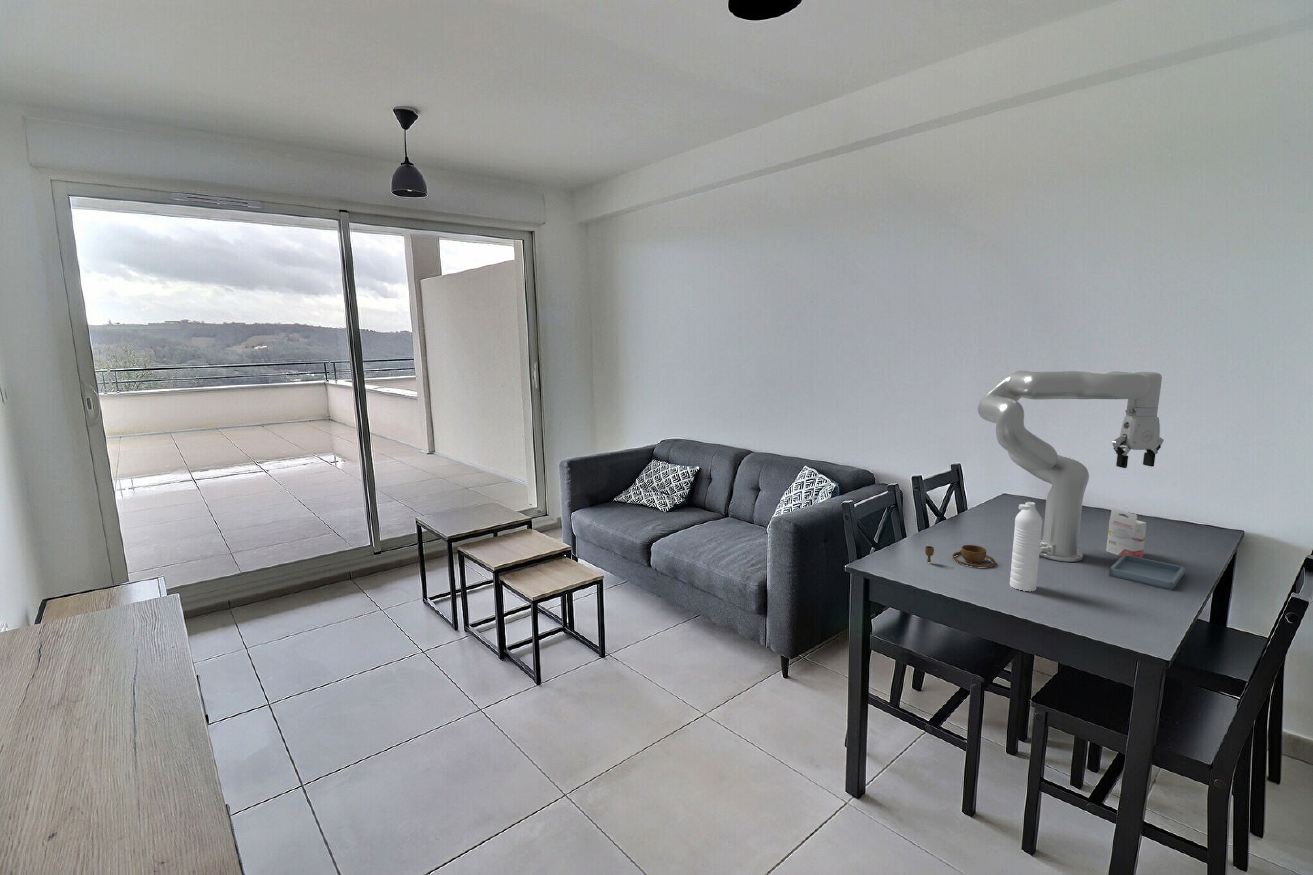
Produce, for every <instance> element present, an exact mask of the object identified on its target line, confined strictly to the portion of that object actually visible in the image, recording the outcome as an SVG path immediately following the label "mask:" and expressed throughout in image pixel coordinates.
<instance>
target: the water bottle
mask: <svg viewBox="0 0 1313 875" xmlns="http://www.w3.org/2000/svg"><path fill="white" fill-rule="evenodd" d="M1018 509H1019V510H1020V511H1019V512H1018V513H1017V514H1016V516H1015V519H1014V531H1013V533H1014V534H1013V544H1012V553H1011V566H1010V569H1011V570H1010V577H1009V586H1010V587H1011V588H1012V587H1013V588H1012V589H1014V588H1015V590H1016V589H1019V590H1018V591H1020V590H1023V591H1022V592H1025V591H1029V592H1031V591H1032V592H1035V591H1036V590H1037V583H1038V581H1037V580H1038V572H1039V561H1040V555H1039V553H1040V542H1041V541H1040V540H1041V539H1042V538H1041V537H1042V530H1043V529H1042V528H1043V518H1042V516H1041V515H1040V513H1039V512H1038V510H1037V509H1036V503H1035V502H1032V501H1026V502H1025V504H1024V503H1021V504H1018Z"/></svg>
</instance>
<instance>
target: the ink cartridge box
mask: <svg viewBox="0 0 1313 875" xmlns="http://www.w3.org/2000/svg"><path fill="white" fill-rule="evenodd" d="M1110 512H1111V513H1110V517H1109V522H1108V531H1107V541H1106V550H1105V551H1106V552H1107V553H1110V554H1112V555H1116V556H1119V557H1122V556H1123V555H1124V554H1126V555H1130V556H1135V557H1140V558H1144V549H1145V543H1146V542H1145V540H1146V531H1147V522H1145V521H1141V520H1138V514H1135V513H1131V512H1128V511H1125V510H1121V509H1117V508H1111V511H1110ZM1123 515H1124V516H1123ZM1125 516H1126V517H1125Z"/></svg>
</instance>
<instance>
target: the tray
mask: <svg viewBox="0 0 1313 875" xmlns="http://www.w3.org/2000/svg"><path fill="white" fill-rule="evenodd" d="M1185 570H1186V567H1185V566H1182V565H1178V564H1171V563H1168V562H1163V561H1158V560H1152V559H1148V558H1144V557H1143V558H1140V557H1135V556H1130V555H1126V554H1124V555H1123V556H1120V558H1118V559H1117V561H1116V562H1115V563H1114V564H1112V566H1110V568H1109V570H1108V576H1109V577H1113V576H1114V577H1113V578H1117V579H1120V580H1121V579H1122V580H1126V581H1129V580H1130V582H1135V583H1139V584H1142V585H1143V584H1144V585H1145V586H1146V585H1147V586H1149V587H1155V588H1159V589H1163V590H1168V591H1174V589H1175V588H1176V586H1177V585H1178V584H1179V582H1180V581H1181V580H1182V578H1183V576H1184V575H1185V572H1186V571H1185Z"/></svg>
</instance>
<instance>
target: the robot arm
mask: <svg viewBox="0 0 1313 875" xmlns="http://www.w3.org/2000/svg"><path fill="white" fill-rule="evenodd" d="M1162 379H1163V377H1162V374H1161V373H1158V372H1153V371H1137V372H1128V371H1127V372H1125V371H1110V372H1106V373H1096V372H1089V371H1088V372H1087V371H1081V370H1079V371H1077V370H1076V371H1075V370H1073V371H1072V370H1069V371H1065V370H1063V371H1030V370H1017V371H1015V372H1013V373H1011V374H1010V375H1008V376H1007V377H1006V378H1004V379H1003V380H1002V381H1001V382H999V383H998V384H997V385H996V386H995V387H994V388H992V389H991V390H990V391H989V392H988V393H987V394H985V395H984V396H983V397H982V399H981V400H980V401H979V403H978V405H977V413H978V415H979V417H980V418H982V419H983V420H985V421H987V422H990V423H994V424H995V436H996V441H997V443H998V444H999V445H1000V447H1002V448H1003V449H1004V450H1005V451H1007V454H1008V456H1009V458H1010V460H1011V461H1012V462H1013V463H1014V464H1016V466H1018V467H1020V468H1021V469H1023V470H1024V471H1026V472H1028V473H1029V474H1031V475H1032V476H1034V477H1035V478H1037V479H1039V480H1041V481H1043V482H1045V483H1047V484H1051V485H1052V486H1051V489H1049V491H1048V493H1047V495H1046V500H1045V510H1044V523H1043V529H1042V530H1043V532H1042V538H1041V540H1040V541H1041V542H1040V553H1039V556H1041V557H1043V558H1046V559H1050V560H1054V561H1059V562H1068V563H1069V562H1079V561H1082V560H1083V558H1084V557H1083V556H1084V554H1083V552H1080V551H1079V550H1078V546H1079V539H1080V538H1079V537H1080V528H1081V518H1082V510H1083V503H1084V502H1083V501H1084V500H1083V499H1084V495H1085V491H1086V489H1087V486H1088V483H1089V478H1090V474H1089V471H1088V468H1087V467H1086V466H1085V465H1084V464H1083V463H1081V462H1080V461H1079V460H1075V459H1074V458H1071V457H1070V458H1069V457H1066V456H1063V455H1060V454H1058V453H1057V450H1056V449H1055V447H1053V445H1051V444H1050V443H1048V442H1046V441H1045V440H1043V439H1042V438H1040V437H1038V436H1037V435H1035V434H1034V433H1032V432H1031V431H1029V430H1028V428H1026V426H1025V422H1024V421H1025V410H1024V407H1023V406H1022V404H1021V403H1020V402H1019V400H1020V399H1023V398H1024V399H1027V400H1035V401H1036V400H1037V401H1039V400H1127V404H1126V409H1125V415H1124V418H1123V422H1122V423H1121V424H1122V425H1121V427H1120V428H1121V429H1120V433H1119V437H1117V438H1115V439H1114V440H1112V442H1111V444H1112V446H1113V450H1114V452H1115V454H1116V455H1117V456H1116V463H1115V467H1118V468H1122V469H1127V468H1128V463H1129V455H1128V454H1129V453H1130V451H1131V450H1134V451H1143V450H1145V452H1144V453H1143V460H1142V465H1143V466H1147V467H1153V468H1154V467H1155V462H1156V455H1157V454H1158V451H1159V450H1160V449H1161V448H1162V445H1163V443H1164V438H1162V437H1160V436H1161V435H1160V434H1161V428H1160V427H1161V426H1160V424H1161V423H1160V417H1159V416H1158V409H1159V403H1160V396H1161V388H1162V382H1163V381H1162Z"/></svg>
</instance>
